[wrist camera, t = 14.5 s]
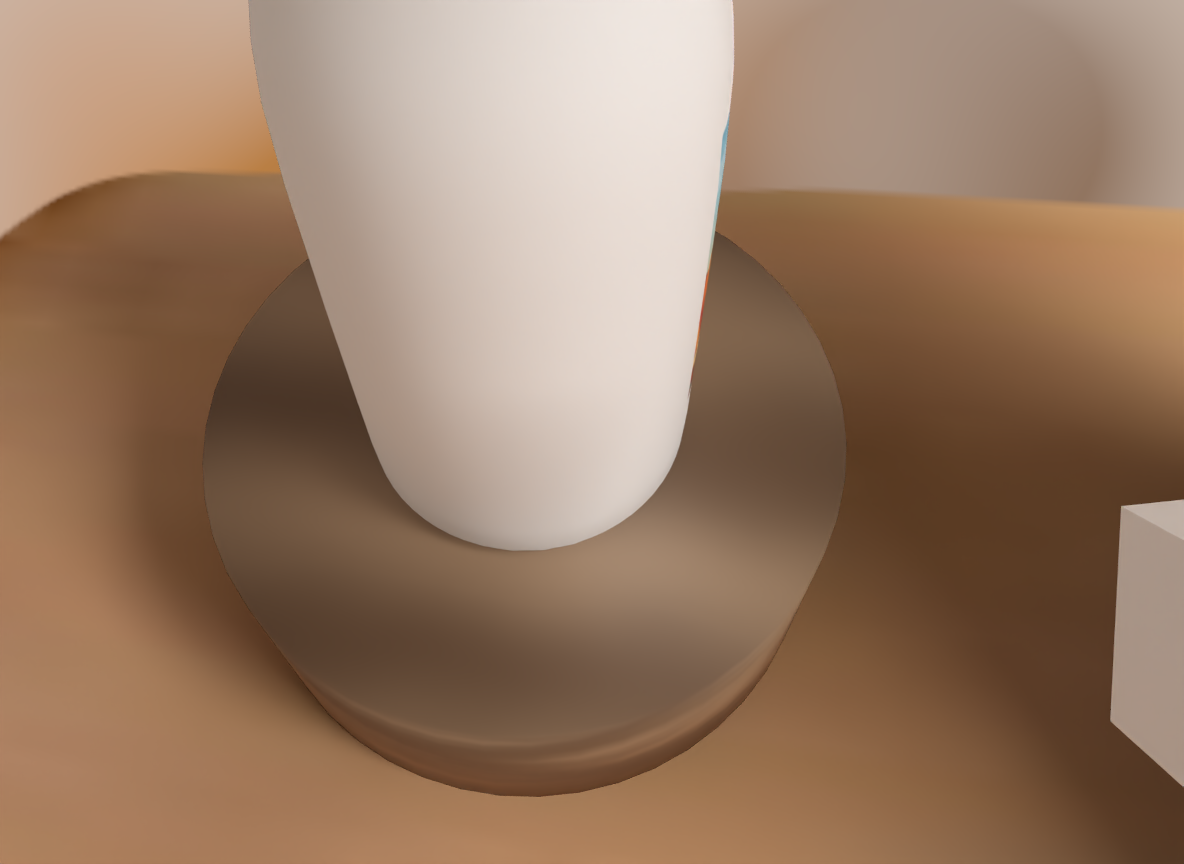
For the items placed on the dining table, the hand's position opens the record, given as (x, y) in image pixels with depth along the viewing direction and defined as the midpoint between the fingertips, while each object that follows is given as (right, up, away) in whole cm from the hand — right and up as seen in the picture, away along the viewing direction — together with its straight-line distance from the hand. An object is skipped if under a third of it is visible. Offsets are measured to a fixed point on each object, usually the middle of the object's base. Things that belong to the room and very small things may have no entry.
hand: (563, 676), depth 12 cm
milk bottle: (-1, +3, +15) cm, 15 cm away
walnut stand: (-1, 0, +20) cm, 20 cm away
